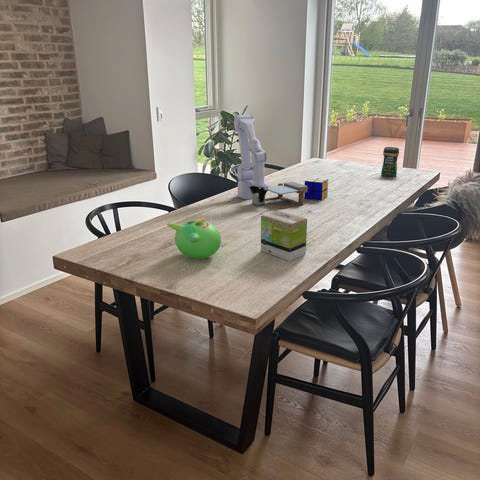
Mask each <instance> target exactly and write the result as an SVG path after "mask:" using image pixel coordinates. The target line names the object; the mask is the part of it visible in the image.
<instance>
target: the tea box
mask: <svg viewBox="0 0 480 480" xmlns="http://www.w3.org/2000/svg"><path fill="white" fill-rule="evenodd" d="M307 231H308V218H306V217H303V216H300V215H299V216H298V215H295V214H291V213H288V212H283V211H280V210H275V211H272V212H270V213H267V214H263V215H260V252H264V253H266V254H269V255H272V256H274V257H277V258H280V259H282V260H284V261H285V260H286V261H288V262H291V261H294V260H296V259H298V258H301V257H303V256H305V255H306V253H307V252H306V251H307V236H308V235H307V234H308V233H307Z"/></svg>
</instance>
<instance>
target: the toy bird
mask: <svg viewBox="0 0 480 480" xmlns="http://www.w3.org/2000/svg"><path fill="white" fill-rule="evenodd" d="M205 219H206V218H205V217H202V218H198V219H194V220H188V221H186V222H184V223H181V224H179V223H173V222H167V224H166V226H168V227H170V228H171V229H172V230H174V231H176V232H175V234H174V243H175V246H176V248H177V249H178V251H179V252H180V253H181V254H183V255H184V256H186V257H187V258H191V259H197V260H198V259H206V258H210V257H212V256H214V255H215V254H216V253H217V252H218V250H219V249H220V246H221V244H222V237H221V232H220V231H219V230H218V228H217V227H216V226H215V225H213V224H212V223H210V222H209V221H206V220H205Z"/></svg>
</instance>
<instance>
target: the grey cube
mask: <svg viewBox="0 0 480 480" xmlns="http://www.w3.org/2000/svg"><path fill="white" fill-rule="evenodd" d="M265 199H266V197H265V198H264V202H260V201H259V194H258V193H254V194H252V198H251V204H253V205H256V206H260V205H265V204H266V201H265Z"/></svg>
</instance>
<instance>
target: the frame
mask: <svg viewBox="0 0 480 480" xmlns="http://www.w3.org/2000/svg"><path fill="white" fill-rule="evenodd" d="M281 185H284V183H282V182H281V183H278V184H277V186H281ZM277 199H280V200H282V201H286V202H289V203H292V204H289V205H284V206H283V205H282V206H279V209H280V210H283V209H288V208H293V207H298V206H299V207H300V206H304V203H305V202H304V190H299V193H298V201H296V200H294V199H290V198H288V197H285V196H284V194H282V195H280V194H277V196H273V197H267V198H265V202H266V201H272V200H277Z"/></svg>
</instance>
